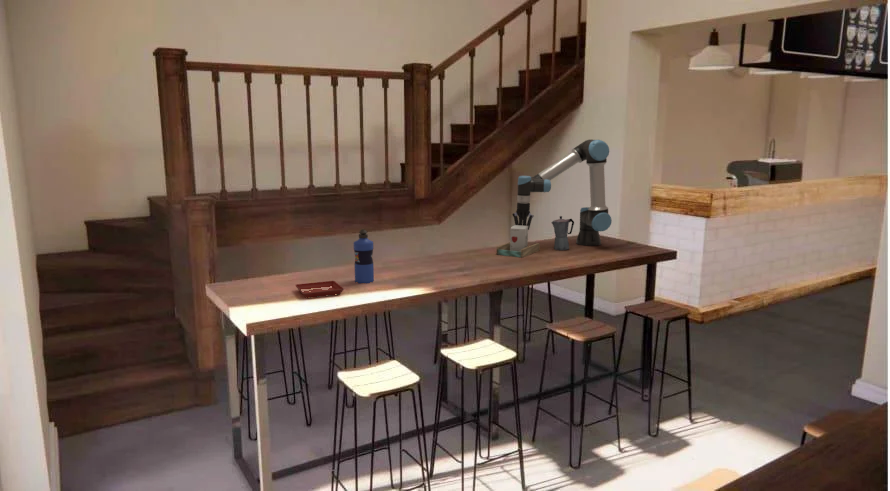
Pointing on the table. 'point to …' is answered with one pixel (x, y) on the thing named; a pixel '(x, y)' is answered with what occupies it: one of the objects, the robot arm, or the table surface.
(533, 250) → the tray
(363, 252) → the water bottle
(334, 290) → the plant saucer
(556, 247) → the moka pot
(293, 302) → the table surface
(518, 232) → the supplement box
